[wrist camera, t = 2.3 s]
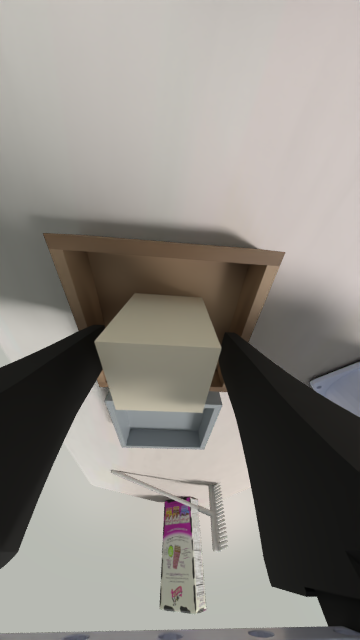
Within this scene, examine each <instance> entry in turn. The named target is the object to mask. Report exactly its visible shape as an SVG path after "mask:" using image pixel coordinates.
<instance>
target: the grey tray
mask: <svg viewBox="0 0 360 640" xmlns="http://www.w3.org/2000/svg"><path fill="white" fill-rule="evenodd" d="M105 403H106V406H107V408H108V411H109V414H110V416H111V419H112V422H113V425H114V427H115V430H116V433H117V435H118V438H119V441H120V444H121V446H122V447H127V448H166V449H205V446H206V444H207V441H208V439H209V436H210V434H211V432H212V429H213V427H214V424H215V422H216V419H217V417H218V415H219V412H220V410H221V407H222V402H221V398H220V394H219V392H215V391H209V392H208V396H207V399H206V403H205V406H204V409H203V413H192V412H164V411H136V410H116V409H115V406H114V402H113V399H112V396H111V393H110V390H109V392H108V395H107V397H106V399H105Z"/></svg>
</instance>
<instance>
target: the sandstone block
mask: <svg viewBox="0 0 360 640" xmlns="http://www.w3.org/2000/svg"><path fill="white" fill-rule="evenodd" d="M94 342H95V345H96V349H97V352H98V355H99V358H100V361H101V364H102V368H103V371H104V374H105V377H106V380H107V383H108V387H109V390H110V393H111V396H112V399H113V402H114V406H115V409H116V410H136V411H164V412H192V413H203V409H204V406H205V403H206V399H207V396H208V392H209V389H210V386H211V382H212V379H213V375H214V372H215V369H216V365H217V362H218V358H219V355H220V352H221V346H220V343H219V340H218V338H217V335H216V333H215V330H214V327H213V325H212V322H211V320H210V317H209V314H208V312H207V309H206V306H205V304H204V301H203V299H202V298H201V297H185V296H170V295H155V294H140V293H135V294H134V295H133V296H132V297H131V298H130V300H129V301H128V302H127V303H126V304H125V305H124V307H123V308H122V309H121V310H120V311H119V313H118V314H117V315H116V316H115V317H114V319H113V320H112V321H111V322H110V323H109V325H108V326H107V327H106V328H105V329H104V330H103V332H102V333H101V334H100V335H99V336H98V338H97V339H96V340H95V341H94Z"/></svg>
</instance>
